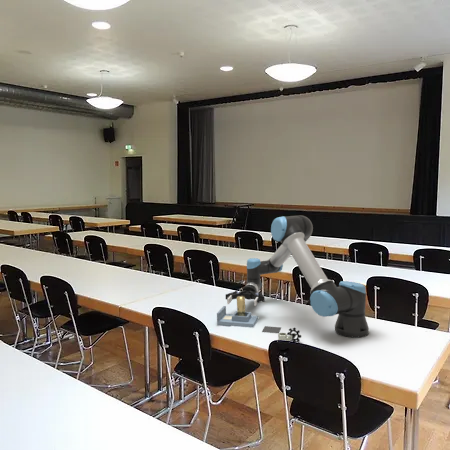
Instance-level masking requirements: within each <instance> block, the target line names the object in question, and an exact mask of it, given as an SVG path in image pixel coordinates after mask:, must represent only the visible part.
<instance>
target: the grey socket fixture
mask: <svg viewBox="0 0 450 450" xmlns="http://www.w3.org/2000/svg"><path fill="white" fill-rule="evenodd" d="M245 314H246V316H237V310H235V311H234V313H233V314H232V313H227V306H226V305H223V306H222V307H221V308H220V309H219V310H218V311H217V312H216V325H217V326H223V327H224V326H225V327H232V326H233V327H242V328H244V327H245V328H255V326H256V324H257V322H258V320H259V316H258V315H252V311H245Z"/></svg>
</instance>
